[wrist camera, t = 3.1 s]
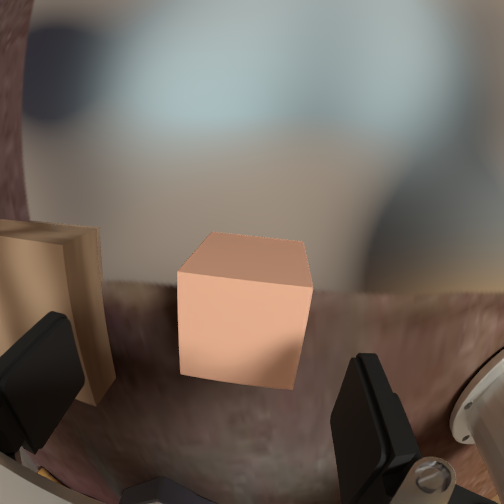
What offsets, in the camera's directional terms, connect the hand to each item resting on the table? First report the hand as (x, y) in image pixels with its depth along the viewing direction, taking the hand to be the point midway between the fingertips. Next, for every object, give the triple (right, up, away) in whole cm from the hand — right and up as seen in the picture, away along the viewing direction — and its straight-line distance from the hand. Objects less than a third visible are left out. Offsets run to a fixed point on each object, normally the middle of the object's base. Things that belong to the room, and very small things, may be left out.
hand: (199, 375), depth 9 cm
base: (-15, 0, +11) cm, 18 cm away
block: (+2, +2, +8) cm, 9 cm away
